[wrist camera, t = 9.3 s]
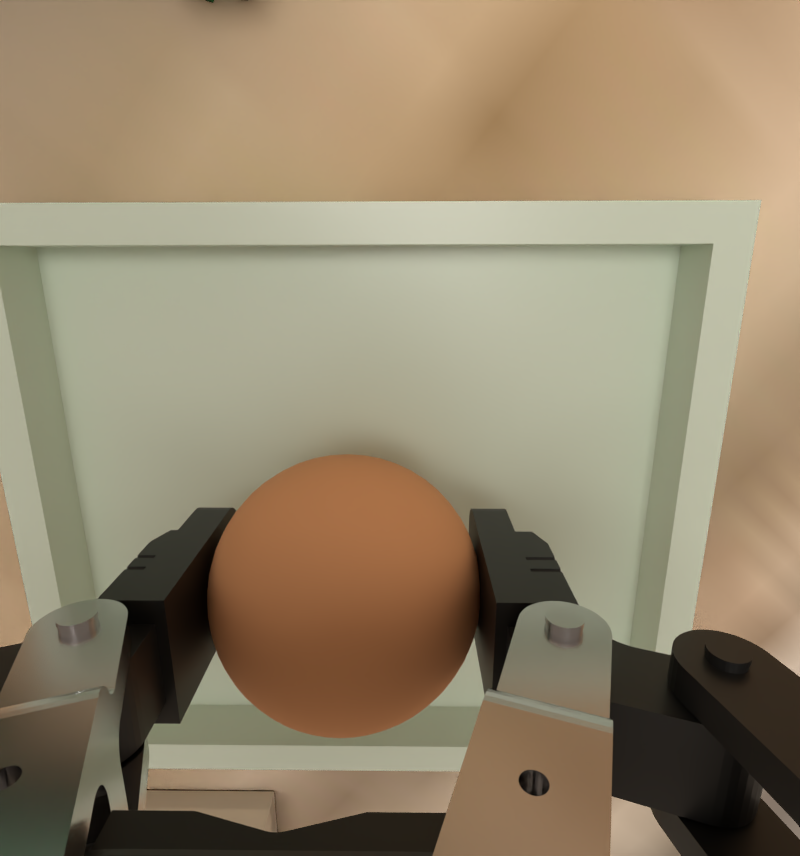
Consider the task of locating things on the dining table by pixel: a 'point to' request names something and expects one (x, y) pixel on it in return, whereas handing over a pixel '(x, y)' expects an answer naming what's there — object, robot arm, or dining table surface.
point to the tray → (371, 400)
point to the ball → (343, 596)
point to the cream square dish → (220, 805)
